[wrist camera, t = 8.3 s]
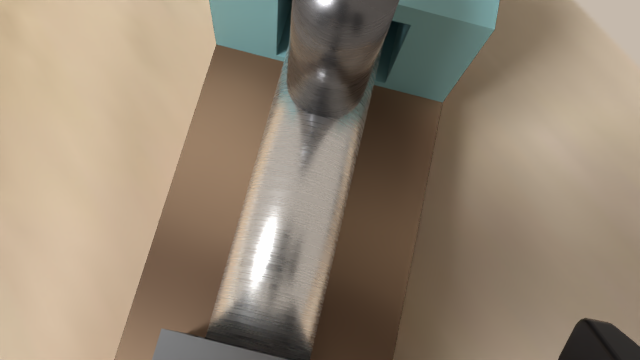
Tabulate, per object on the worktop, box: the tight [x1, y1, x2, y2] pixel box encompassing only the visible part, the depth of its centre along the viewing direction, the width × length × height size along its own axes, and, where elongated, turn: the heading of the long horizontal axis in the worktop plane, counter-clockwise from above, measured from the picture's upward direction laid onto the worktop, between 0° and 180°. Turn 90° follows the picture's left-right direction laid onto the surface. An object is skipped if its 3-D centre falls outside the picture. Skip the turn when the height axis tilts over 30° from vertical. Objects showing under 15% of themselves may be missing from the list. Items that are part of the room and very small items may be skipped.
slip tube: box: [205, 0, 399, 360], centre depth 15 cm, size 13×3×8 cm, turn 167°
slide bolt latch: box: [114, 44, 443, 360], centre depth 17 cm, size 24×8×6 cm, turn 167°
